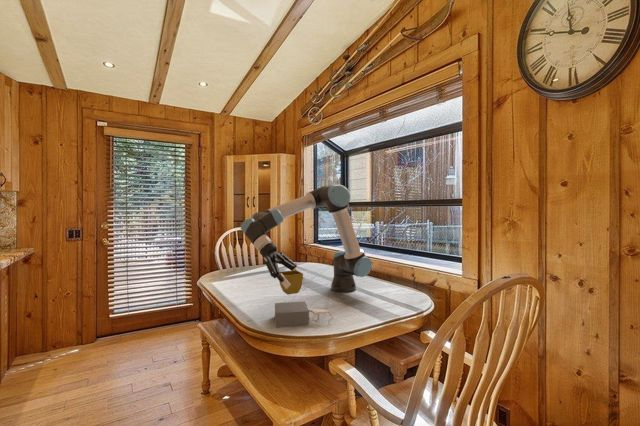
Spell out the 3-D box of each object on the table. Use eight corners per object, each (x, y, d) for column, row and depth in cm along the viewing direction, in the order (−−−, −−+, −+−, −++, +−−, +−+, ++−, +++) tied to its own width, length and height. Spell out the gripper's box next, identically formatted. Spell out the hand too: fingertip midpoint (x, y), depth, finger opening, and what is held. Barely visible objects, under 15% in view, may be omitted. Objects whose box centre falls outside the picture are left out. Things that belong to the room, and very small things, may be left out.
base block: (305, 314, 146) (305, 301, 145) (309, 325, 132) (308, 311, 132) (274, 316, 143) (274, 303, 143) (275, 327, 129) (275, 313, 129)
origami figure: (304, 325, 132) (304, 314, 132) (307, 318, 140) (307, 307, 140) (333, 326, 131) (333, 314, 131) (333, 319, 139) (333, 308, 139)
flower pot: (284, 296, 131) (284, 275, 131) (277, 291, 139) (277, 271, 139) (303, 294, 135) (303, 273, 135) (296, 289, 143) (296, 270, 143)
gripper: (274, 249, 154) (302, 282, 148) (244, 256, 132) (275, 296, 126) (284, 238, 152) (312, 272, 146) (254, 244, 130) (287, 284, 124)
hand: (295, 283), depth 136 cm, fingers closed on flower pot, 12 cm apart
